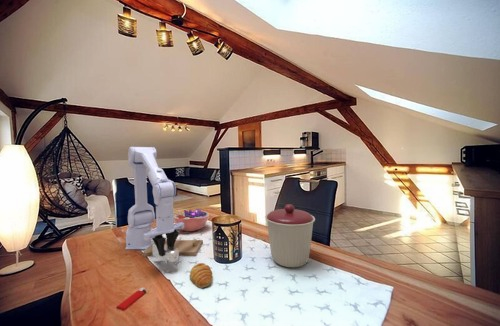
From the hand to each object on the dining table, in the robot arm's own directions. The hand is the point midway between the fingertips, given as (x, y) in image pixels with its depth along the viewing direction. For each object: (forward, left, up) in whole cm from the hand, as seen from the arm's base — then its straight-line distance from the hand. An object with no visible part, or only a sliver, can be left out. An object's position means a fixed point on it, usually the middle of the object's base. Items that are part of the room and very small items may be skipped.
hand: (165, 253), depth 74 cm
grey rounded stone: (0, 0, -2) cm, 2 cm away
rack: (-2, +14, -5) cm, 15 cm away
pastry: (+15, -7, -5) cm, 17 cm away
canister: (+45, +4, -5) cm, 45 cm away
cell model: (-2, +38, -5) cm, 38 cm away
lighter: (-2, -17, -6) cm, 18 cm away
